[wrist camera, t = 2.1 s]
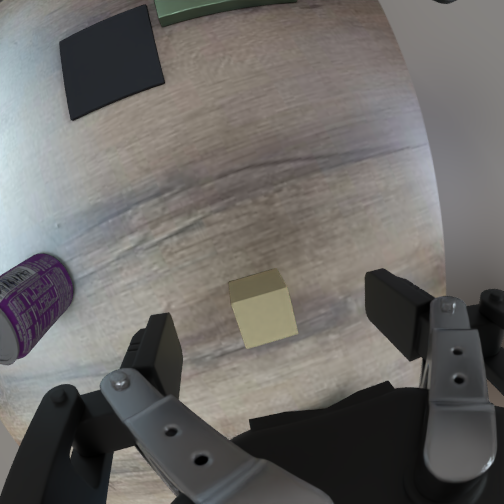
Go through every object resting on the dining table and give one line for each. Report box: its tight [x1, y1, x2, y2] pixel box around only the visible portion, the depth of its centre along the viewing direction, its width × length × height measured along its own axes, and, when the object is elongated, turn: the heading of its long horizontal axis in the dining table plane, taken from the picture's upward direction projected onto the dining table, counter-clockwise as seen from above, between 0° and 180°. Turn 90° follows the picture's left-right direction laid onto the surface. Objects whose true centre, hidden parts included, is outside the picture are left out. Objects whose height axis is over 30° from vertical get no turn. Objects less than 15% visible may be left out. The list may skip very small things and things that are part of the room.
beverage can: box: [0, 254, 73, 365], centre depth 22 cm, size 7×7×12 cm
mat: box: [59, 4, 165, 121], centre depth 22 cm, size 10×10×1 cm
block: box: [229, 268, 298, 349], centre depth 29 cm, size 5×5×5 cm
